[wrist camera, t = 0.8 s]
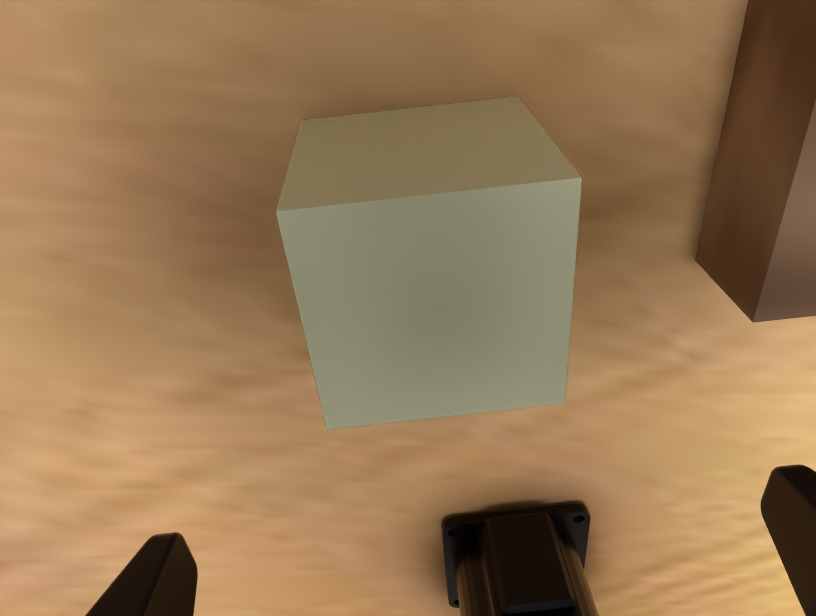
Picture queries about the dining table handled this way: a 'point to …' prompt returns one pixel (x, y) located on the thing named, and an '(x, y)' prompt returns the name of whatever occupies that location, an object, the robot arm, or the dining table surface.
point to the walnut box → (767, 168)
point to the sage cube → (432, 260)
